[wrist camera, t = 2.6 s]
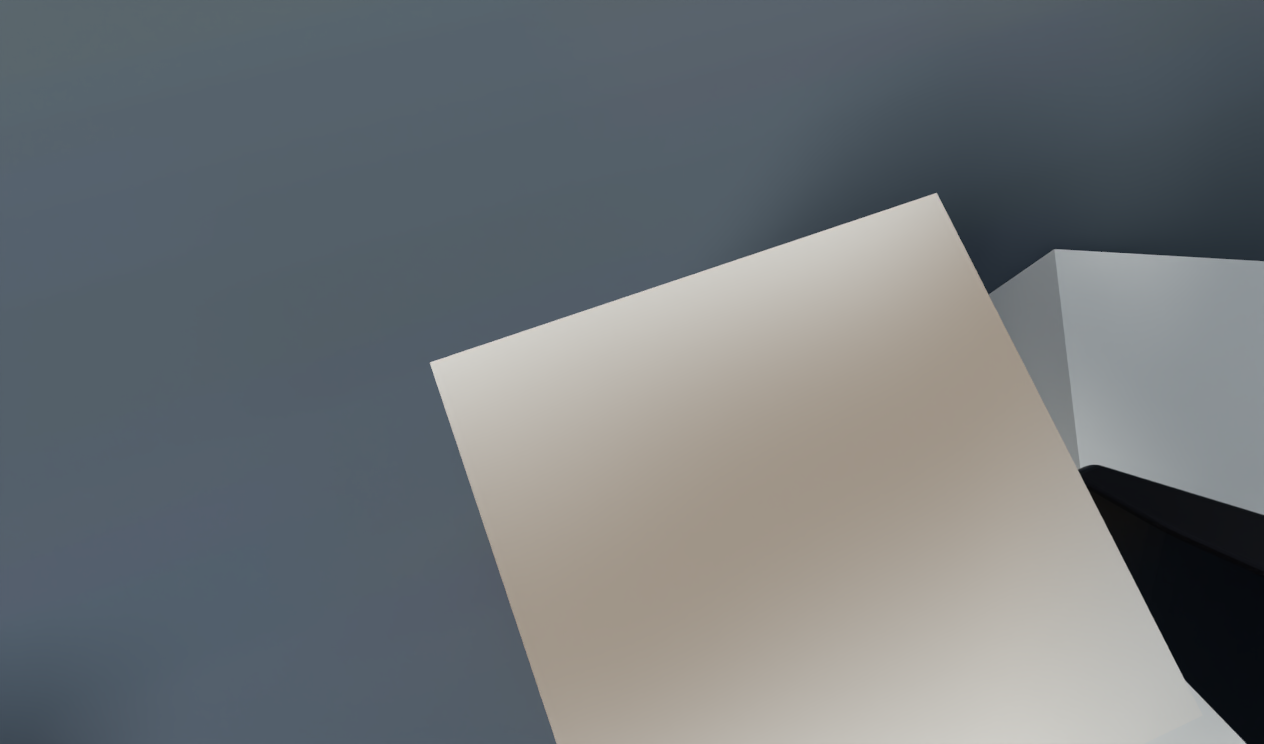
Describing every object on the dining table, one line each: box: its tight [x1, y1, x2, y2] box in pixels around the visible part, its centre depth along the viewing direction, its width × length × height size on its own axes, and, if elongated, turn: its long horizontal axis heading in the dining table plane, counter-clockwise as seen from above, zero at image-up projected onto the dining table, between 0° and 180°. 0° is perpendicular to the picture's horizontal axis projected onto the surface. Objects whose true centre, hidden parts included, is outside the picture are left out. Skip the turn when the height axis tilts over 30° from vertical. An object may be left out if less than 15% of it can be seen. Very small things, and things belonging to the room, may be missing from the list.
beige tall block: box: [430, 193, 1202, 744], centre depth 12 cm, size 6×6×12 cm
